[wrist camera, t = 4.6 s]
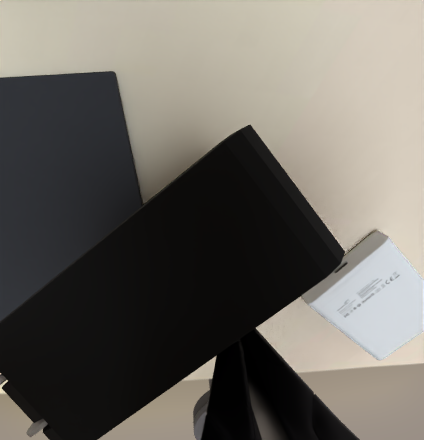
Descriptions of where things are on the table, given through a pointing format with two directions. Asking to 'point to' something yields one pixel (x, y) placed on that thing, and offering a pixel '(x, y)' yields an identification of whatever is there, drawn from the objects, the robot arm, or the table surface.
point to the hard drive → (373, 297)
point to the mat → (59, 175)
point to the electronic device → (164, 292)
